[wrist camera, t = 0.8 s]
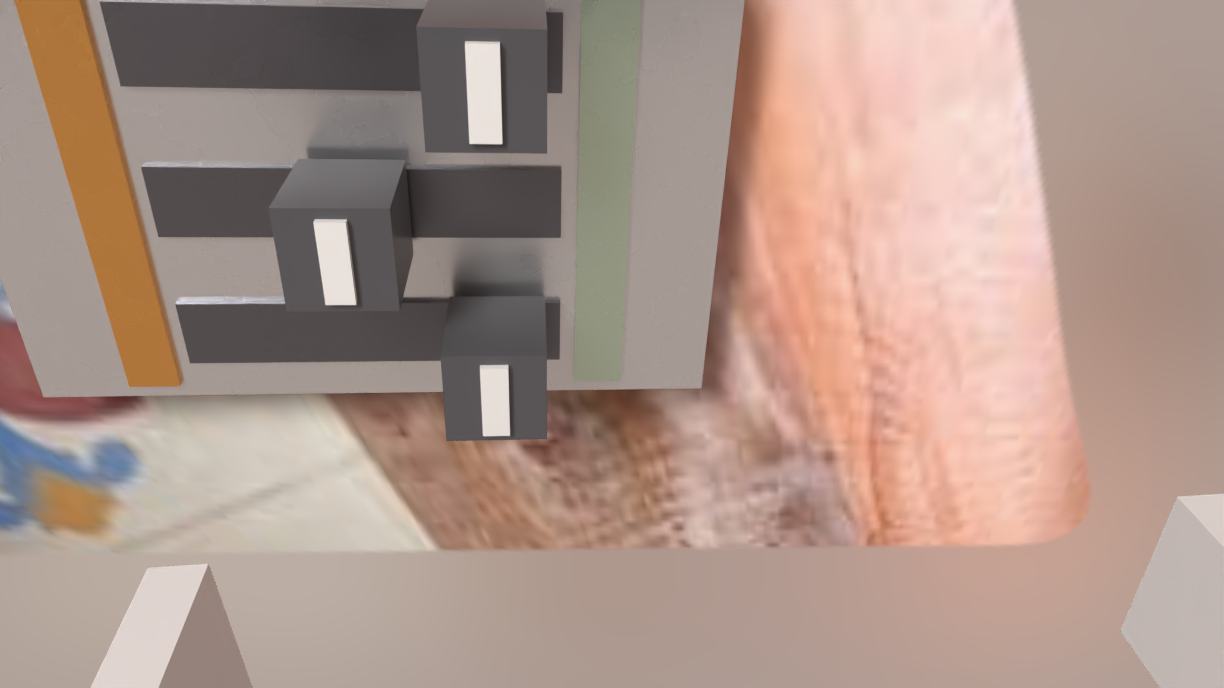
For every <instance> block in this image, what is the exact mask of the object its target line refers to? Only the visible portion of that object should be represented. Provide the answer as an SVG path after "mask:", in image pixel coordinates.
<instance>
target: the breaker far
mask: <svg viewBox="0 0 1224 688" xmlns="http://www.w3.org/2000/svg"><path fill="white" fill-rule="evenodd" d="M440 358H441V372H442V385H443V399H444V412H445V426H446V440H447V441H467V440H521V439H547V342H546V313H545V296H485V297H449V303H448V310H447V316H446V323H445V330H444V336H443V343H442V350H441V356H440Z"/></svg>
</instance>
